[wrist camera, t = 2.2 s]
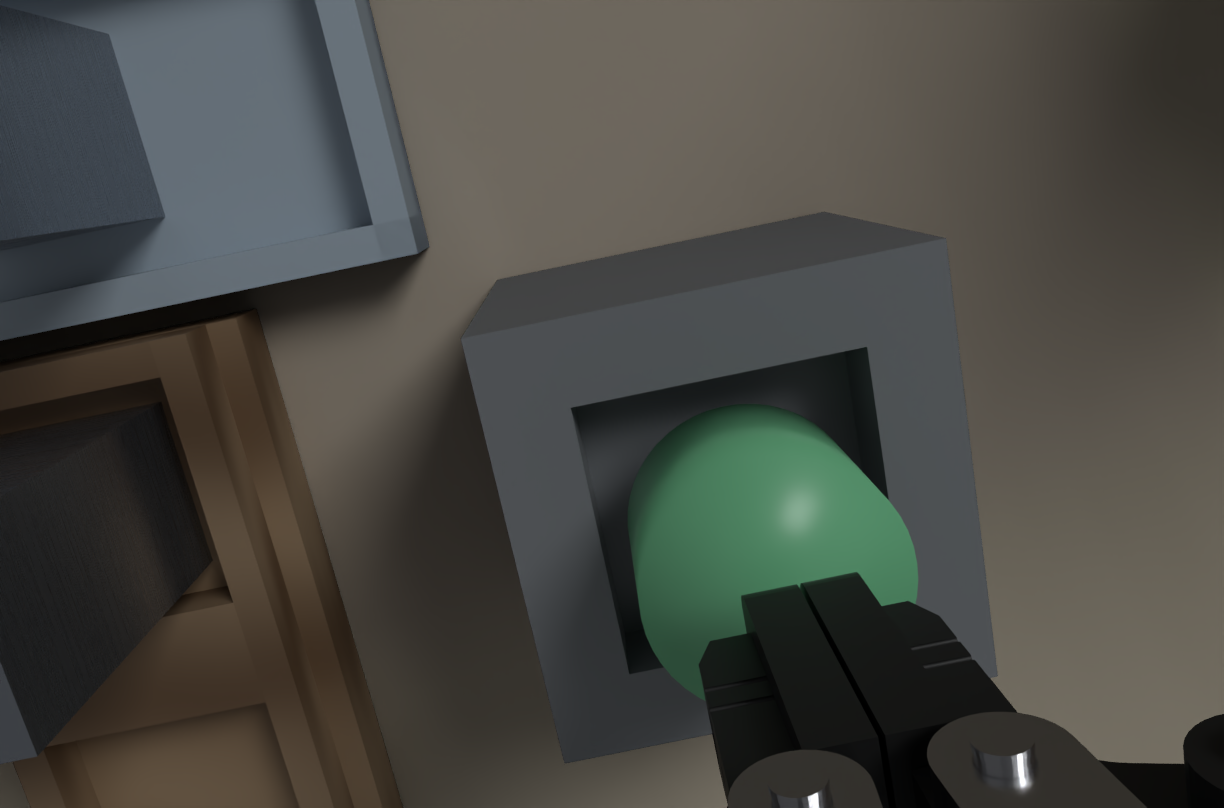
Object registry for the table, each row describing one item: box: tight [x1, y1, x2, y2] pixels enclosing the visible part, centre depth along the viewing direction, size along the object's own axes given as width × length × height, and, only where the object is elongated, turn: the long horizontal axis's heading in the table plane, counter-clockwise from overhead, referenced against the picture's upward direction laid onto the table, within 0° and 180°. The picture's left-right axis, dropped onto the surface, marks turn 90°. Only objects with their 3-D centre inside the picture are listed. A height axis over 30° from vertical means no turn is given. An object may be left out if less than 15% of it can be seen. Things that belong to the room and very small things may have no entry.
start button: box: [628, 404, 918, 701], centre depth 16 cm, size 4×4×3 cm
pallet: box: [0, 309, 403, 808], centre depth 24 cm, size 15×8×3 cm, turn 12°
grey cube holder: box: [461, 212, 998, 763], centre depth 21 cm, size 8×8×8 cm
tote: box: [0, 0, 429, 341], centre depth 22 cm, size 8×15×2 cm, turn 102°
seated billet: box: [0, 402, 213, 764], centre depth 19 cm, size 4×4×8 cm
